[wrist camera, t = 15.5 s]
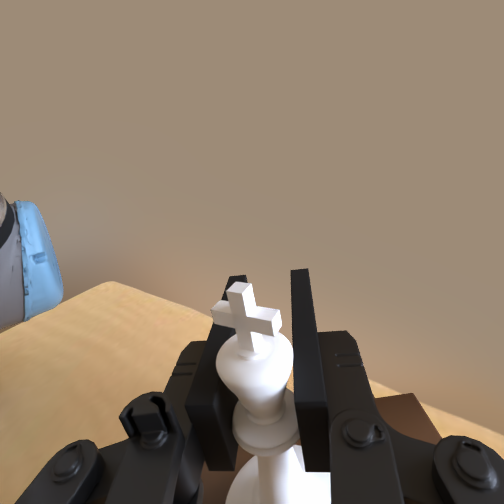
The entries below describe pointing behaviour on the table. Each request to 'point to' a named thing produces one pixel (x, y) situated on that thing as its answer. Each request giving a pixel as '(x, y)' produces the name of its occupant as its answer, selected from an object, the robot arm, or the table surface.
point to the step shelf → (219, 482)
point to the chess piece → (263, 406)
